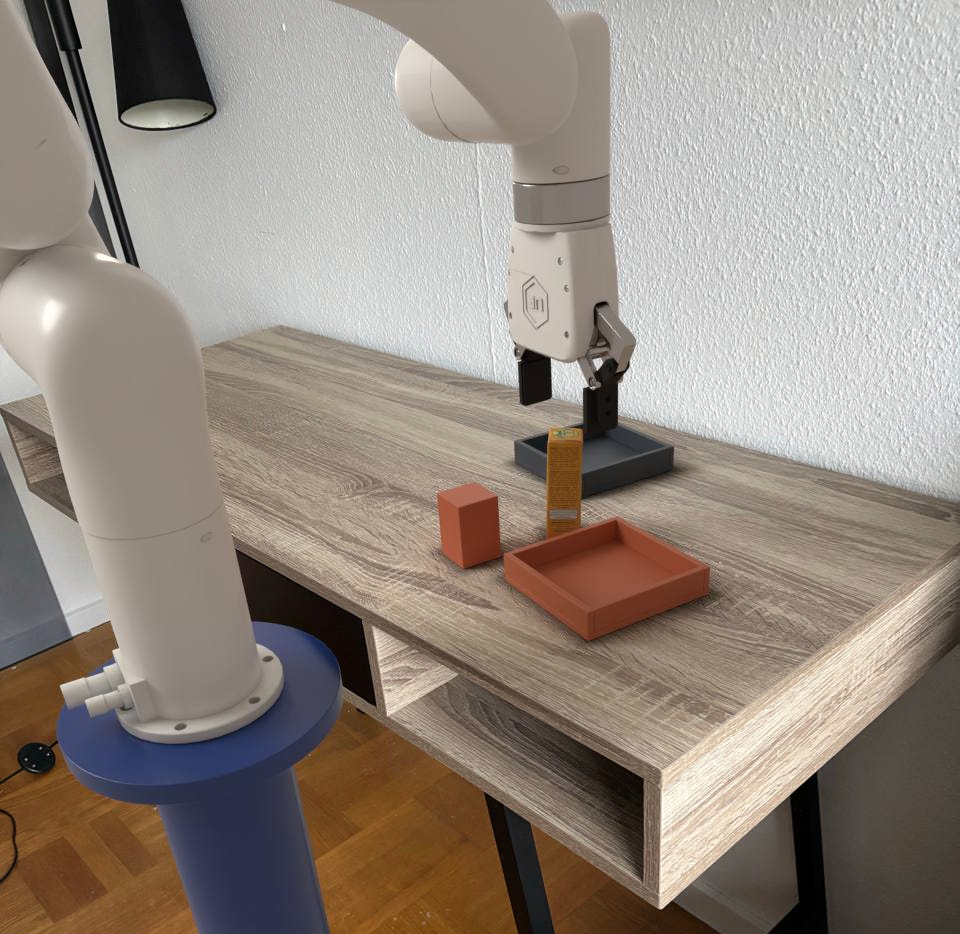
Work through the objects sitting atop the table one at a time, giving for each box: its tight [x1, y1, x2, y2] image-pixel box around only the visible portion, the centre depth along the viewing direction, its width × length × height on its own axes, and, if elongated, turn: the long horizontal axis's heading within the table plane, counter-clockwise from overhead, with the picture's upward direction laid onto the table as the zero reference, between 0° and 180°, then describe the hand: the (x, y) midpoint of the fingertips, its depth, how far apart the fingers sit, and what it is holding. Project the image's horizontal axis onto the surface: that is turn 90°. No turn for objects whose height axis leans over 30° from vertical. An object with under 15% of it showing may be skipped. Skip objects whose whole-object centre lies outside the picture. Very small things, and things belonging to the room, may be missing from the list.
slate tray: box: [513, 421, 675, 499], centre depth 101 cm, size 12×12×3 cm
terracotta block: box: [436, 481, 502, 570], centre depth 85 cm, size 4×4×6 cm
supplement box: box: [545, 427, 583, 540], centre depth 86 cm, size 3×3×10 cm
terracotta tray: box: [503, 515, 711, 642], centre depth 79 cm, size 12×12×3 cm
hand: (567, 416), depth 82 cm, fingers open, 9 cm apart
